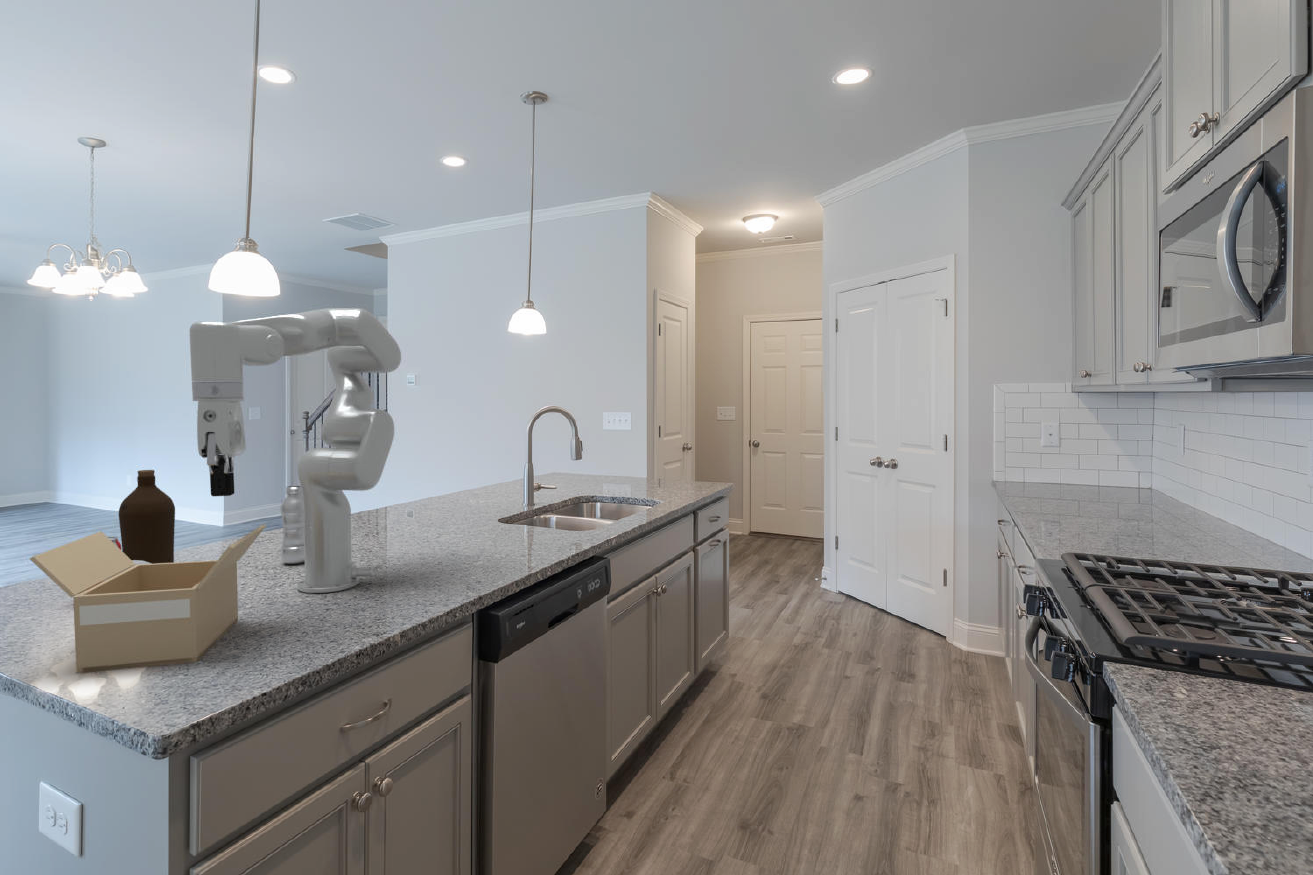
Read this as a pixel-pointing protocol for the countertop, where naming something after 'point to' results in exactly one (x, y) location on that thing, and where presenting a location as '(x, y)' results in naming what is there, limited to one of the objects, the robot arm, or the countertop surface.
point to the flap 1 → (83, 563)
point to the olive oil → (147, 522)
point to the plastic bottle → (293, 526)
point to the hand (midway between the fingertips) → (222, 495)
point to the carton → (153, 616)
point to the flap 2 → (231, 556)
